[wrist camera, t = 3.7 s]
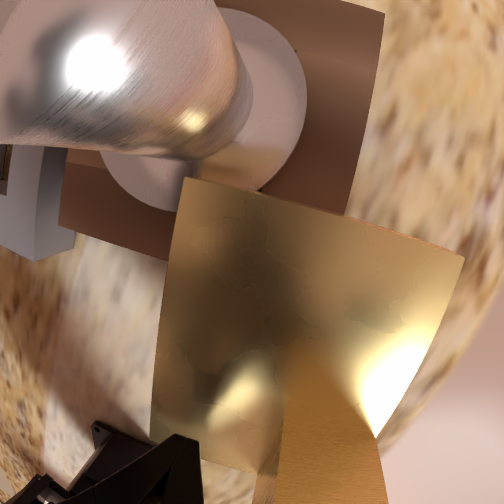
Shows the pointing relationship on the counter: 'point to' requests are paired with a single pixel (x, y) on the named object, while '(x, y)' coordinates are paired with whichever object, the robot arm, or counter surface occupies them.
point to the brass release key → (291, 339)
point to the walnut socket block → (306, 152)
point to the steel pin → (152, 90)
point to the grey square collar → (33, 202)
